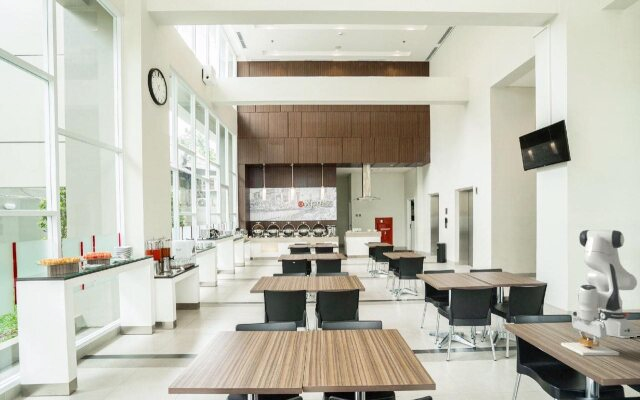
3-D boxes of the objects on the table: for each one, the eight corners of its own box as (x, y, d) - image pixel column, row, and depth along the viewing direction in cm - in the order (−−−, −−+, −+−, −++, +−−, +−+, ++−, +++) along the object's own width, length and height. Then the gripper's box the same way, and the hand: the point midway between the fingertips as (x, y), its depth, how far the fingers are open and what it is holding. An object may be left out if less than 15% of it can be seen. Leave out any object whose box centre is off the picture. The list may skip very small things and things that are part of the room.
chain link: (589, 342, 211) (589, 337, 211) (599, 346, 205) (599, 340, 205) (578, 342, 211) (578, 337, 211) (587, 346, 204) (587, 340, 204)
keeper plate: (594, 345, 216) (594, 333, 217) (618, 355, 200) (618, 342, 201) (561, 345, 215) (561, 333, 215) (582, 355, 199) (582, 342, 199)
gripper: (610, 320, 198) (610, 348, 198) (580, 311, 219) (580, 335, 218) (598, 320, 198) (599, 348, 197) (569, 311, 218) (569, 335, 218)
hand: (588, 341), depth 208 cm, fingers closed on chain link, 6 cm apart
